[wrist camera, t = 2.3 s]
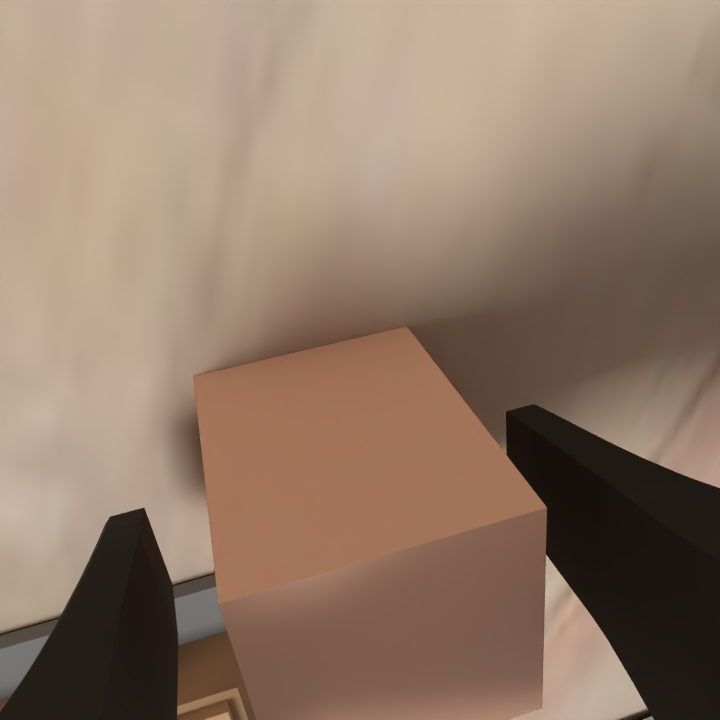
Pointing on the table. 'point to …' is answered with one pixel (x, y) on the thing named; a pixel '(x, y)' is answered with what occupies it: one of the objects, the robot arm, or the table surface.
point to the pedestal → (208, 682)
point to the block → (370, 539)
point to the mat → (20, 648)
